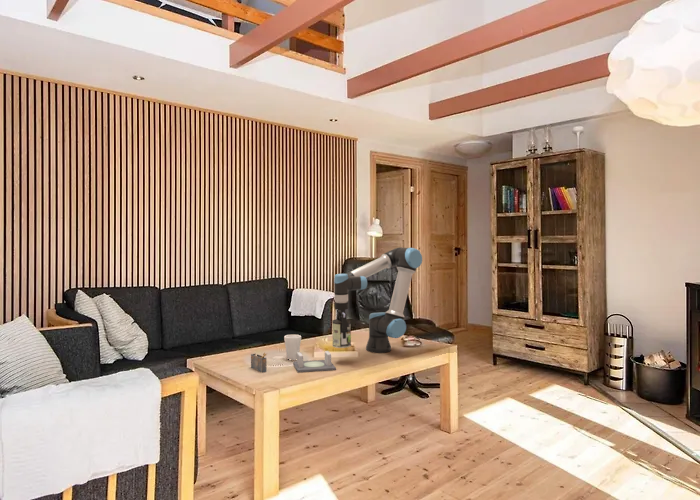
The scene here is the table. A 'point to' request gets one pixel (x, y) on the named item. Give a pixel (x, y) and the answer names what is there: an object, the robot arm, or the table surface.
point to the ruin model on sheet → (258, 362)
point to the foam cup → (292, 346)
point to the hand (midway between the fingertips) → (341, 342)
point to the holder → (314, 364)
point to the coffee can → (337, 334)
